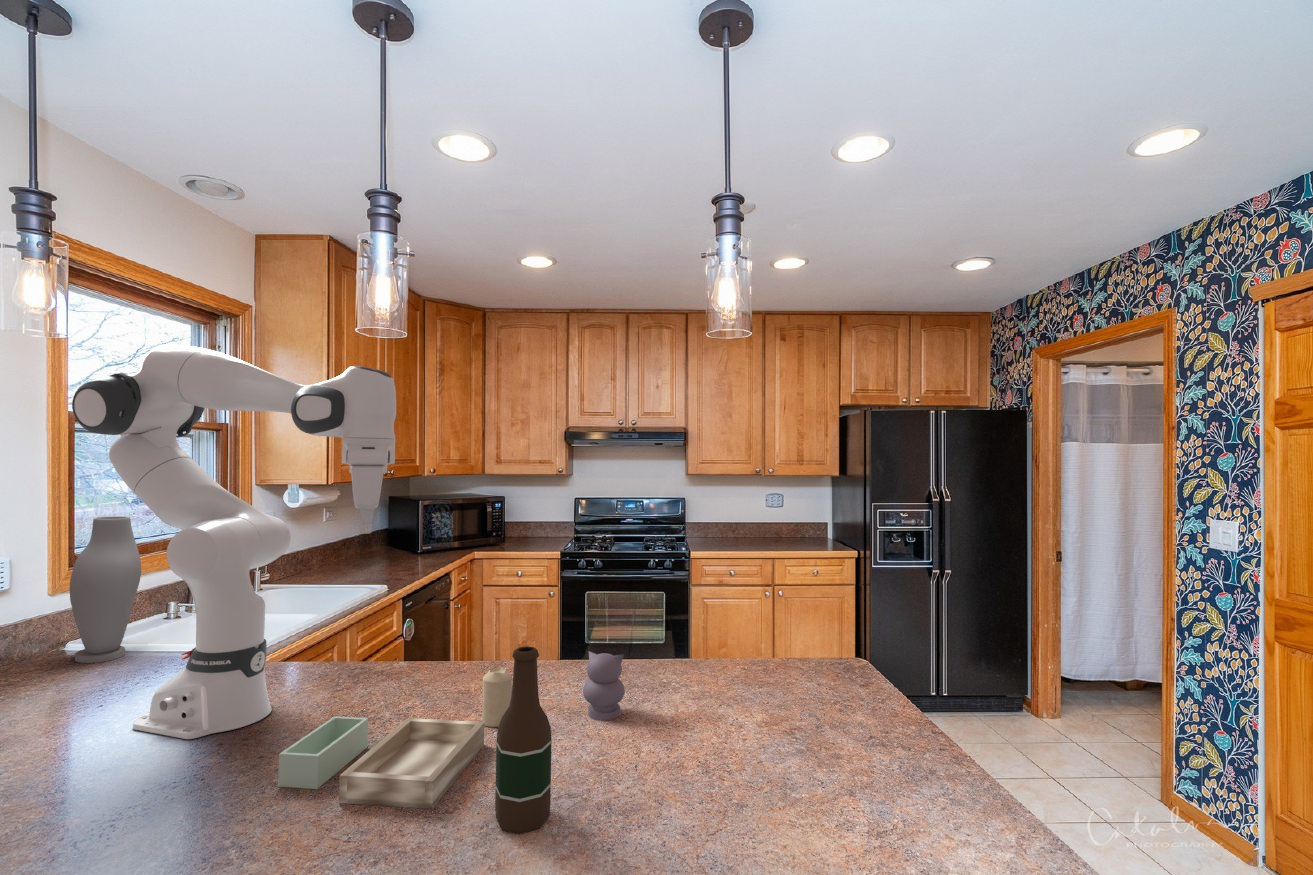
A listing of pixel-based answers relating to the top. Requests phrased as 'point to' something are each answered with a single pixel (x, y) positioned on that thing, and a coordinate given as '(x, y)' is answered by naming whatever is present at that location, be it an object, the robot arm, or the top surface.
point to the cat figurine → (604, 686)
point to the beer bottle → (523, 752)
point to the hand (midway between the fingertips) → (366, 530)
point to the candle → (496, 696)
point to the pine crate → (412, 764)
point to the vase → (105, 588)
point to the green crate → (322, 752)
